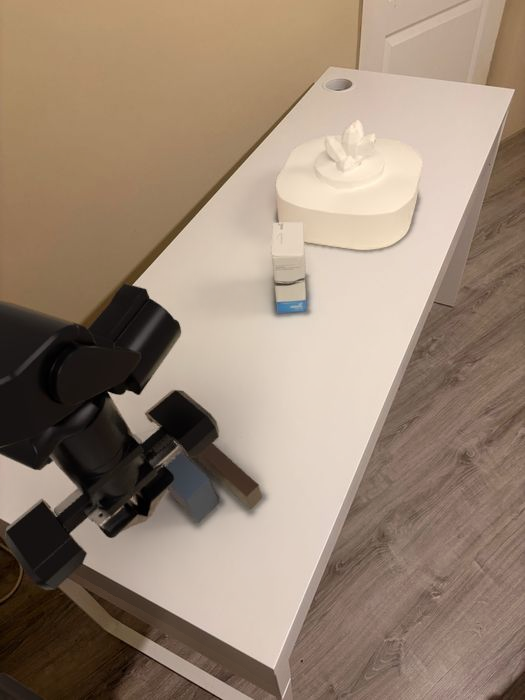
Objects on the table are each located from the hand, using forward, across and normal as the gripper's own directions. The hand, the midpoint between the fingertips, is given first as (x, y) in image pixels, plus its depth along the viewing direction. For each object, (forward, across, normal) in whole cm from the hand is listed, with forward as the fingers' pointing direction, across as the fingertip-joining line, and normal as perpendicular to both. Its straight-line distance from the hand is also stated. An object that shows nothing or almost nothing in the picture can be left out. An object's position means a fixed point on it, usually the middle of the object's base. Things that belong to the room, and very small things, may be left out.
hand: (145, 515), depth 49 cm
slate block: (+8, -6, -2) cm, 10 cm away
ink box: (+11, -40, -17) cm, 45 cm away
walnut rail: (+11, -11, -2) cm, 16 cm away
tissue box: (+11, -65, -25) cm, 71 cm away
